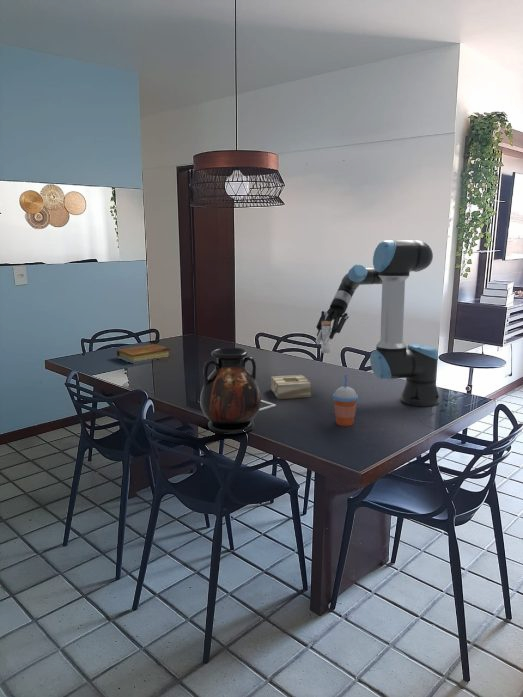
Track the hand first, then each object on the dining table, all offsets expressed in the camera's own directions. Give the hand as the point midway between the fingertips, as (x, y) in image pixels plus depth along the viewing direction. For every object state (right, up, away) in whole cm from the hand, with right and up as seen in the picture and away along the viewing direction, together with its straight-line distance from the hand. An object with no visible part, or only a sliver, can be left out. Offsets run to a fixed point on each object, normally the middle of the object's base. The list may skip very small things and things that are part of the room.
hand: (321, 343), depth 241 cm
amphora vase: (-38, -31, -48) cm, 68 cm away
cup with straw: (+3, -30, -45) cm, 54 cm away
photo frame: (-32, -26, -22) cm, 47 cm away
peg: (+2, -4, +4) cm, 6 cm away
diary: (-92, -8, +61) cm, 111 cm away
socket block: (-14, -22, -7) cm, 27 cm away
